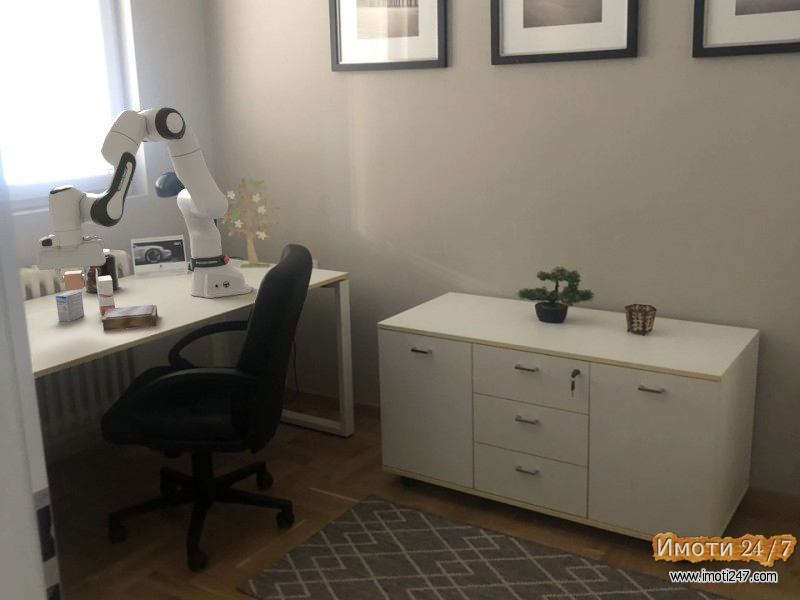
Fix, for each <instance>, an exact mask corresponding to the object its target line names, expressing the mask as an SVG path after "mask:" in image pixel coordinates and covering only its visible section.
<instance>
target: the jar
mask: <svg viewBox="0 0 800 600" xmlns="http://www.w3.org/2000/svg"><path fill="white" fill-rule="evenodd" d="M103 251H104V254H105V260H106V261H105V263H104V264H103V265H100V266H90V269H89V271H88V274H87V281H84V286H85V291H86V293H94V294H95V293H97V294H98V292H97V283H96V269H97V272H98V277H101V276H111V278H112V284H113V291H116V290H118V289H119V286H120V284H119V276H118V268H117V261H116V255H114V254H112V253H111V250H110V249H107V248H104V249H103ZM82 269H83V274H85V272H86V270H84V267H82Z"/></svg>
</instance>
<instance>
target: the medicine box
mask: <svg viewBox="0 0 800 600" xmlns="http://www.w3.org/2000/svg"><path fill="white" fill-rule="evenodd" d="M55 300H56V301H55V302H56V308H57V317H58V322H66V323H67V322H72V321H74V320H77V319H79V318H82V317H83V316H85V311H84V303H83V302H84V301H83V300H84V299H83V292H82V291H79V290H68V291H66V292H64V293H61V294H59V295H55Z"/></svg>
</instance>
